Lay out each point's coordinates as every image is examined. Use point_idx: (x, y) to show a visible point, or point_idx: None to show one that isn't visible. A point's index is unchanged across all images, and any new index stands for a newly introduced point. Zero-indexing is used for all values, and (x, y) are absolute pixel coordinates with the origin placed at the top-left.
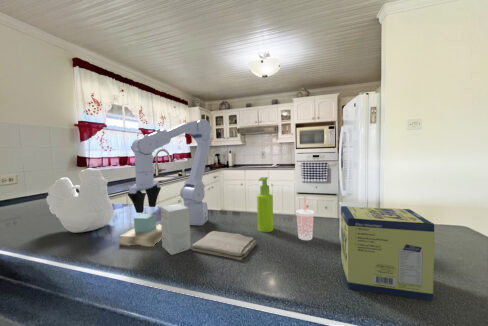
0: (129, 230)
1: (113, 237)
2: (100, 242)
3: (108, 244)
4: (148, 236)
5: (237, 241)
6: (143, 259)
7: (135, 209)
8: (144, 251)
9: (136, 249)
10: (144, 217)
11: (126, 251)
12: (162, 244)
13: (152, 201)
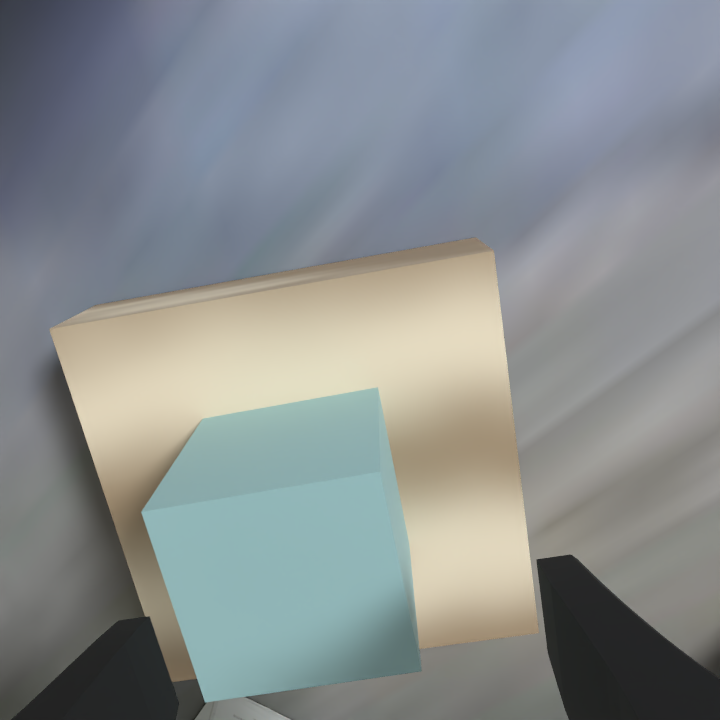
0: (230, 300)
1: (216, 27)
2: (51, 9)
3: (57, 169)
4: (170, 635)
5: None
6: (7, 689)
7: (73, 665)
8: (100, 614)
9: (98, 531)
10: (225, 634)
11: (35, 481)
12: (205, 712)
13: (586, 712)
